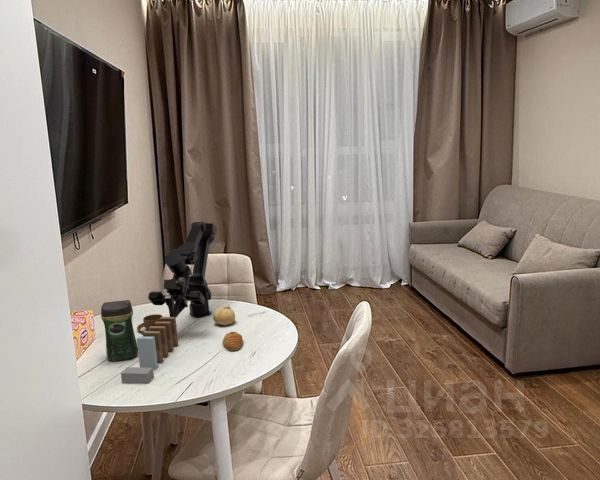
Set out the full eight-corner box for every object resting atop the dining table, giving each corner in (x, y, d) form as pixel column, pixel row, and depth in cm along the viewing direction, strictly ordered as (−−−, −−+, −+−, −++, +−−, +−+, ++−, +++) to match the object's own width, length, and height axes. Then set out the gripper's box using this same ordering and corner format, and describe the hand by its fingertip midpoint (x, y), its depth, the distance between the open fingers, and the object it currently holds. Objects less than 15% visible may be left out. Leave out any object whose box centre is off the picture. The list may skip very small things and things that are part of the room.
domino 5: (159, 350, 176) (155, 321, 174) (173, 350, 175) (170, 321, 173) (157, 352, 175) (153, 323, 173) (171, 352, 174) (168, 323, 172)
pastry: (244, 351, 173) (243, 339, 172) (223, 353, 171) (222, 342, 170) (242, 340, 182) (241, 329, 181) (222, 342, 180) (221, 332, 180)
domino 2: (148, 361, 168) (144, 331, 166) (163, 361, 167) (160, 331, 165) (146, 363, 166) (142, 333, 164) (161, 363, 166) (158, 333, 164)
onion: (220, 329, 192) (219, 310, 191) (209, 324, 198) (208, 305, 197) (239, 323, 197) (238, 305, 195) (228, 318, 203) (226, 300, 202)
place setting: (135, 340, 187) (133, 325, 186) (118, 325, 203) (116, 310, 202) (182, 328, 196) (180, 313, 195) (162, 314, 213) (161, 300, 211)
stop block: (128, 376, 158) (127, 367, 157) (154, 377, 157) (152, 367, 156) (122, 382, 154) (120, 373, 153) (148, 383, 153) (147, 373, 152)
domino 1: (142, 367, 164) (138, 336, 162) (158, 367, 163) (154, 336, 161) (140, 369, 162) (136, 338, 160) (155, 369, 161) (152, 338, 159)
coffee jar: (139, 349, 177) (133, 296, 174) (136, 359, 170) (130, 303, 166) (109, 353, 176) (102, 299, 172) (105, 363, 168) (97, 307, 164)
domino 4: (164, 345, 180) (161, 317, 178) (178, 345, 179) (175, 317, 177) (162, 347, 179) (159, 318, 177) (176, 347, 178) (173, 318, 176)
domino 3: (153, 355, 172) (150, 326, 170) (168, 355, 171) (165, 326, 169) (151, 357, 170) (148, 328, 168) (166, 357, 170) (163, 328, 168)
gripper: (147, 269, 184) (136, 310, 176) (199, 268, 181) (190, 310, 173) (158, 284, 193) (149, 324, 185) (208, 284, 190) (201, 324, 182)
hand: (171, 320), depth 181 cm, fingers closed
